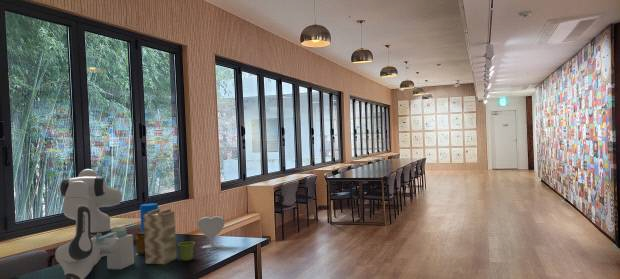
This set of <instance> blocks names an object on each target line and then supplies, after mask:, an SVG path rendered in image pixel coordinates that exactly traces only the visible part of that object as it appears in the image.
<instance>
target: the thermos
mask: <svg viewBox="0 0 620 279" xmlns="http://www.w3.org/2000/svg"><path fill="white" fill-rule="evenodd" d="M139 209H140V211H139V213H140V229H141V230H140V232H144V219H143V215H145V214H147V212H150V211H153V210H157V209H159V205H158V203H156V202H155V203H153V202H151V203H144V204H140V206H139Z"/></svg>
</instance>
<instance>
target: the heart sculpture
mask: <svg viewBox="0 0 620 279" xmlns="http://www.w3.org/2000/svg"><path fill="white" fill-rule="evenodd" d="M224 219H225V218H224V217H222V216H219V215H215V216H212V217H210V216H203V217H201V218H199V219H198V221H197V228H198V230H199V231H200V232H201V233H202V234H203V235H204V236H205V237H208V238H210V244H207V245H202V246H203V247H202V246H201V247H202V248H201V249H209V248H221V247H224V245H223V244H214V240H215V239H214V238H215V237H216V236H218V235H219V234H220V233H221V232H222V230H223V229H224V227H225V220H224Z"/></svg>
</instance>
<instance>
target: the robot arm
mask: <svg viewBox="0 0 620 279" xmlns="http://www.w3.org/2000/svg"><path fill="white" fill-rule="evenodd" d="M106 181H107V180H106V178H104V177H102V176H100V175H99V174H98V172H96V171H95V170H94V169H90V168H85V169H83V170H81V171H80V172H79V173H78V175H77V176H76V177H67V178H64V179H62V181H61V183H60V185H59V192H60V194H61V196H62V197H63V198H64V200H63V204H62V212H63V214H64V216H65V217H67V218H68V219H70V220H74V221H75V235H74V237H73V238H72V240H70V241H68V242H66V243H64V244H61V245H60V246H57V248H56V250H55V252H54V258H55V260H56V262H57V263H58V264H60V266H61V268H62V269H63V272H64V277H65V279H85V278H86V277H87V276H88V275H89V274H90V273H91V271H92V269H93V267H94V266H95V265H97V264H98V262H100V260H101V258H102V257H107V254H109V253H113V252H114V251H115V250H116V249H117V248H118V247H119V246H120V244H121V243H120V240H119V239H118V238H117V236H118V234H117V233H114V234H113V237H112V238H105V239H104V240H103V241H102V242H96V238H98V237H100V236H103V235H106V234H109V233H112V229H111V217H110V215H108V214H107V213H105V212H102V211H101V210H100V209H99V208H107V207H109V208H110V207H114V206H117V205H120V204H121V202H122V201H123V192H122V191H121V190H120V189H119V188H115V187H112V186H109V185H108V184H107V182H106Z"/></svg>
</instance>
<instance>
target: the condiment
mask: <svg viewBox="0 0 620 279" xmlns="http://www.w3.org/2000/svg"><path fill="white" fill-rule="evenodd" d="M135 239H136V242H135V243H136V253H135V254H134V255H135V256H140V255H145V241H144V232H141V231H140V232H137V233H136V238H135Z"/></svg>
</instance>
